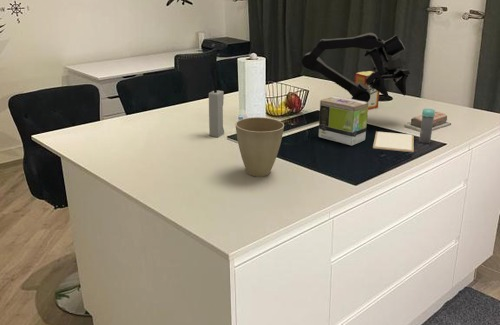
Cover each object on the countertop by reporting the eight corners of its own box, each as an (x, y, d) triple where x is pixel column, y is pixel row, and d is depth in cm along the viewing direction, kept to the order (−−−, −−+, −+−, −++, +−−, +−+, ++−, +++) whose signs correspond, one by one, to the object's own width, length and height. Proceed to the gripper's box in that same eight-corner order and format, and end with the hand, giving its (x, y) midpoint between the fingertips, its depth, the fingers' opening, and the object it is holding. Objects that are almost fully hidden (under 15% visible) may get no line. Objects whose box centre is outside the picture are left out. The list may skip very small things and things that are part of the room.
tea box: (366, 140, 197) (369, 101, 192) (351, 146, 190) (354, 107, 185) (332, 131, 207) (335, 94, 201) (317, 137, 200) (319, 99, 194)
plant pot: (246, 184, 158) (246, 134, 152) (228, 167, 170) (228, 120, 165) (290, 177, 163) (292, 128, 158) (270, 161, 176) (271, 115, 170)
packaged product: (431, 109, 221) (452, 114, 214) (429, 120, 223) (450, 126, 216) (404, 116, 211) (426, 122, 204) (403, 127, 213) (424, 134, 205)
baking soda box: (367, 104, 244) (370, 70, 238) (377, 107, 239) (381, 72, 233) (352, 107, 239) (355, 72, 233) (363, 110, 234) (366, 75, 228)
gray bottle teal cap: (418, 142, 195) (423, 111, 190) (418, 139, 198) (422, 108, 194) (430, 143, 194) (435, 112, 189) (430, 140, 197) (434, 109, 193)
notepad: (372, 148, 189) (372, 146, 188) (376, 132, 206) (376, 130, 205) (413, 152, 185) (413, 150, 185) (413, 135, 202) (413, 134, 202)
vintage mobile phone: (224, 133, 202) (223, 68, 193) (218, 137, 198) (217, 71, 189) (215, 132, 204) (214, 68, 195) (209, 136, 200) (208, 70, 191)
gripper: (374, 51, 199) (391, 87, 194) (410, 49, 207) (427, 83, 203) (358, 67, 208) (373, 102, 203) (393, 65, 217) (409, 97, 212)
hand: (396, 96), depth 205 cm, fingers open, 9 cm apart
